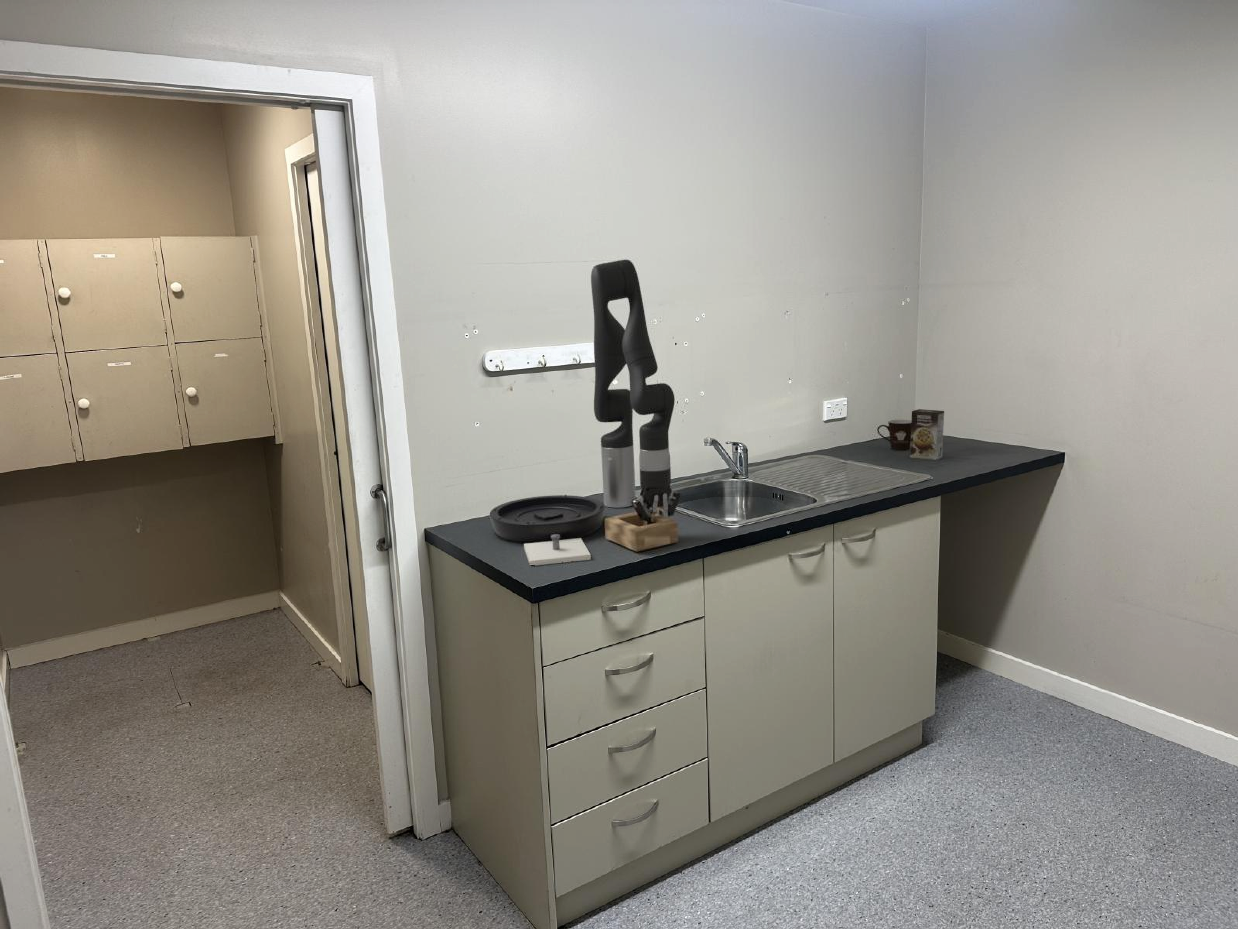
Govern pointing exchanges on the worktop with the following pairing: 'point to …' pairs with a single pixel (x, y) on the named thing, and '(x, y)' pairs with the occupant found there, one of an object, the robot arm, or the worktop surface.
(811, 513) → the worktop surface
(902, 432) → the coffee mug
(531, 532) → the round tray
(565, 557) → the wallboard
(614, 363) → the robot arm
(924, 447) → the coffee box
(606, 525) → the frame
